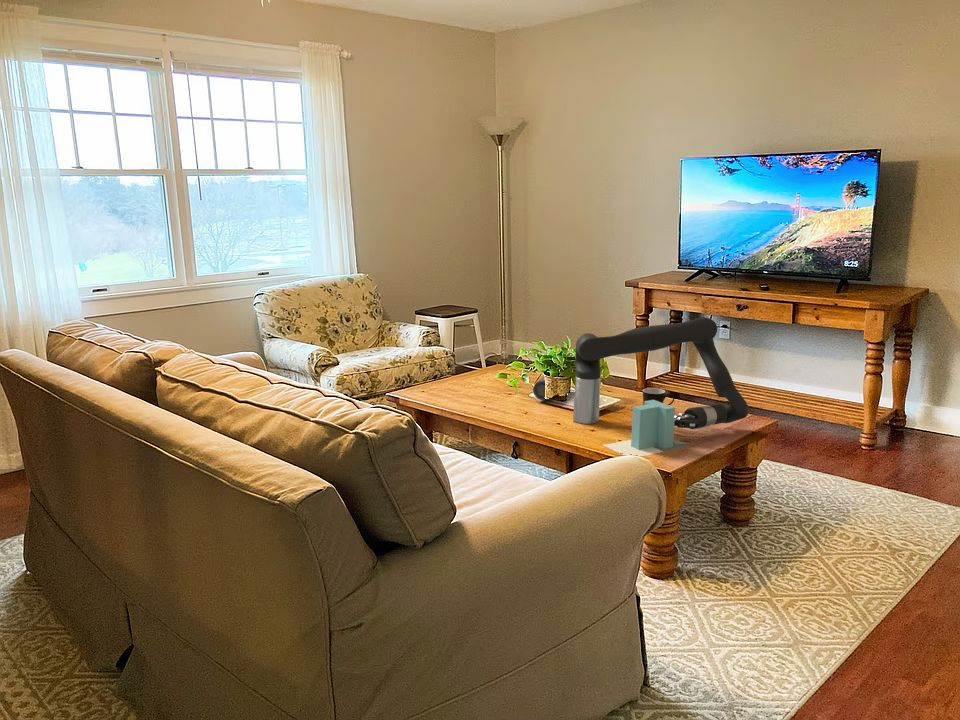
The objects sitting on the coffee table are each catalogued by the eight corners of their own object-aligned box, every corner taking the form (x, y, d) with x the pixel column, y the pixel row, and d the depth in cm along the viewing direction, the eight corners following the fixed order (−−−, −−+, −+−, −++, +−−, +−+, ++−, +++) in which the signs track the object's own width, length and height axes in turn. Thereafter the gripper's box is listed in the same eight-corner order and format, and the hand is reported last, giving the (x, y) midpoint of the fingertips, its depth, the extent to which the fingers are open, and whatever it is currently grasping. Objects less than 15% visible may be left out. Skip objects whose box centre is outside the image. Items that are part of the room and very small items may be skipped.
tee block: (651, 437, 277) (653, 399, 274) (672, 447, 268) (675, 407, 265) (624, 443, 272) (626, 404, 269) (645, 452, 262) (647, 412, 259)
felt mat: (660, 436, 282) (661, 433, 282) (690, 448, 269) (690, 446, 269) (602, 447, 270) (602, 444, 270) (630, 460, 257) (630, 458, 257)
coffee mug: (638, 416, 305) (639, 392, 303) (644, 411, 312) (646, 387, 310) (668, 421, 300) (669, 395, 297) (674, 415, 307) (675, 390, 305)
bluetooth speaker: (553, 404, 321) (553, 380, 319) (531, 402, 325) (532, 378, 323) (569, 391, 342) (569, 368, 340) (548, 388, 345) (549, 366, 343)
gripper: (687, 402, 284) (650, 408, 276) (714, 411, 273) (676, 418, 265) (686, 422, 286) (649, 428, 278) (713, 432, 274) (675, 439, 266)
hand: (662, 423), depth 271 cm, fingers closed
